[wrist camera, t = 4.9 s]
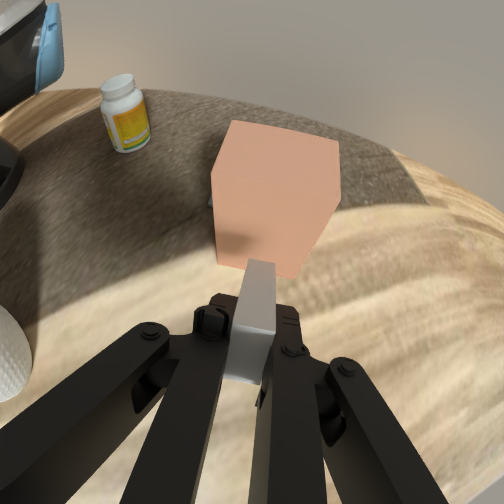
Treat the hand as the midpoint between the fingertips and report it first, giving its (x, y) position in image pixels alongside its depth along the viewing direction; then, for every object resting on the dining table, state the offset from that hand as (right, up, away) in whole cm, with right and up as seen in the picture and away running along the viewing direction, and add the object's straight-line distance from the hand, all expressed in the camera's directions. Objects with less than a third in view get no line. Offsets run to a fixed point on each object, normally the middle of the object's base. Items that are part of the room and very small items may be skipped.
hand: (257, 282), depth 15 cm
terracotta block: (0, +2, +10) cm, 11 cm away
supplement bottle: (-16, +16, +16) cm, 28 cm away
